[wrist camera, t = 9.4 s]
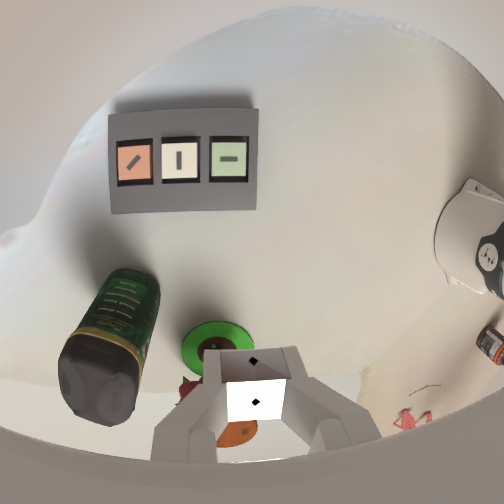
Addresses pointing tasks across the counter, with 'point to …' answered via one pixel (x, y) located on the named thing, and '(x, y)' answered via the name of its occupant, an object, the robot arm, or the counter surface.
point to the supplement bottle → (492, 344)
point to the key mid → (180, 160)
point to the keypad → (205, 185)
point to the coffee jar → (110, 349)
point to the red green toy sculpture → (220, 339)
